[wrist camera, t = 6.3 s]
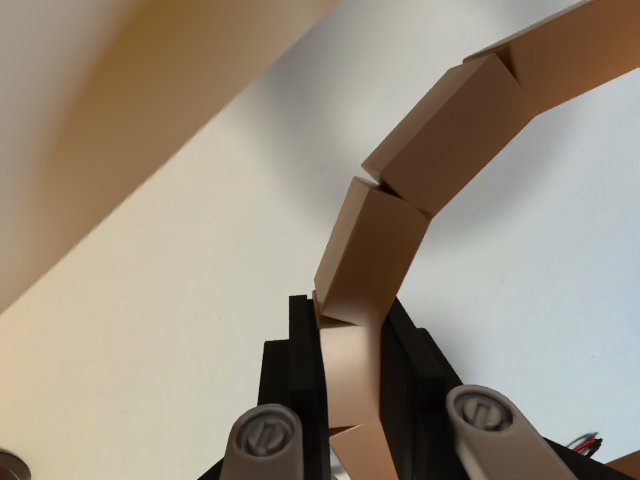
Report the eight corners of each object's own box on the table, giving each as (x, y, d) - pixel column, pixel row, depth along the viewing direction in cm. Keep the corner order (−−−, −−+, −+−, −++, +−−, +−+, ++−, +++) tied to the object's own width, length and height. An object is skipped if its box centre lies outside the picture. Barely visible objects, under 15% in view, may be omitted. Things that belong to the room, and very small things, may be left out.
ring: (193, 346, 10) (171, 395, 8) (702, -207, 7) (846, -324, 5) (528, 564, 15) (562, 627, 13) (922, 284, 12) (1040, 314, 10)
